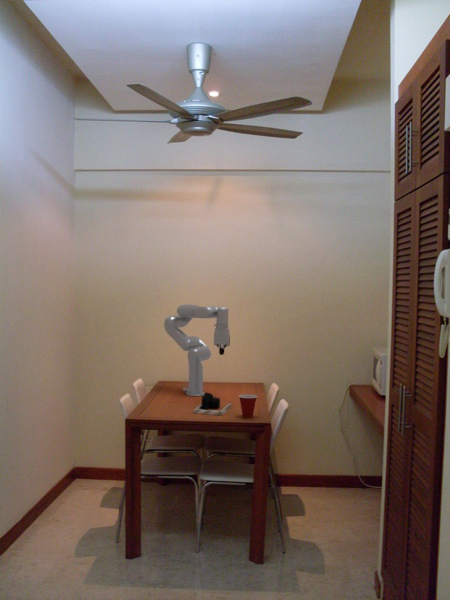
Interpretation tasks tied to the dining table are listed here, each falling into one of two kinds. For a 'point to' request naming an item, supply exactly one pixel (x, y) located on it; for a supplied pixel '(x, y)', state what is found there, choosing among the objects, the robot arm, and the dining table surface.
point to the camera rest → (198, 410)
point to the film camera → (209, 401)
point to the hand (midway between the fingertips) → (221, 354)
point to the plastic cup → (247, 404)
